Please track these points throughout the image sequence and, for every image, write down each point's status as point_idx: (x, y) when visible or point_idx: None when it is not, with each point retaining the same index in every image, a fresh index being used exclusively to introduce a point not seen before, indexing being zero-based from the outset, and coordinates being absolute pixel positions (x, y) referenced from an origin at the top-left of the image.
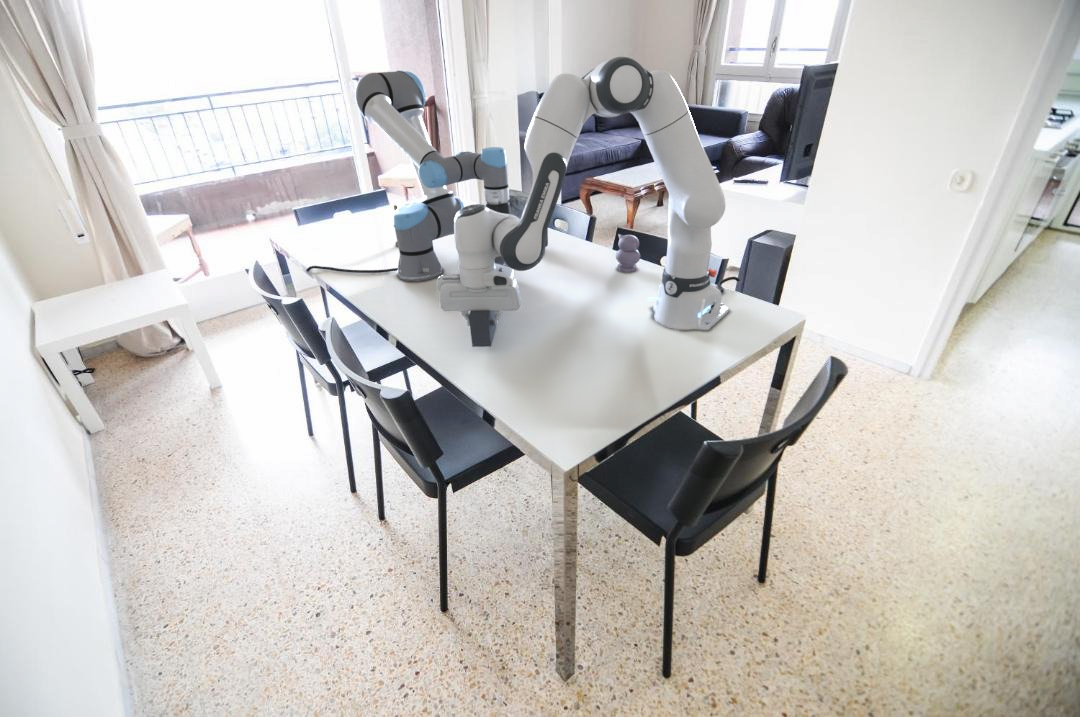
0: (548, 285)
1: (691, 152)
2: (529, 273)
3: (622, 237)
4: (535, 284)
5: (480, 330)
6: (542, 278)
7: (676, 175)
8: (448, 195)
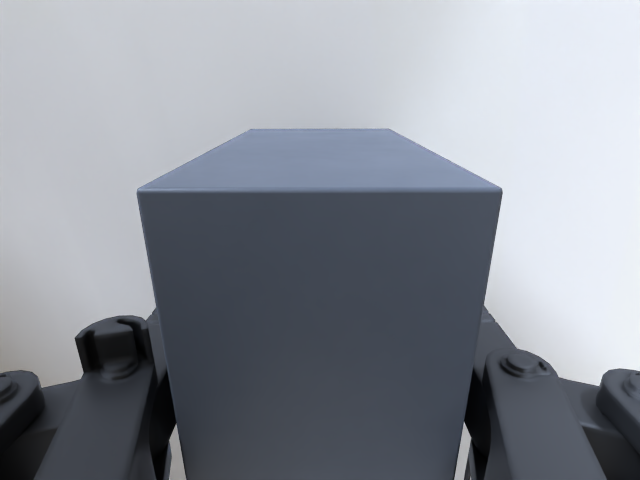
0: (635, 324)
1: None
2: (533, 88)
3: None
4: (549, 307)
5: None
6: (622, 204)
7: None
8: None
